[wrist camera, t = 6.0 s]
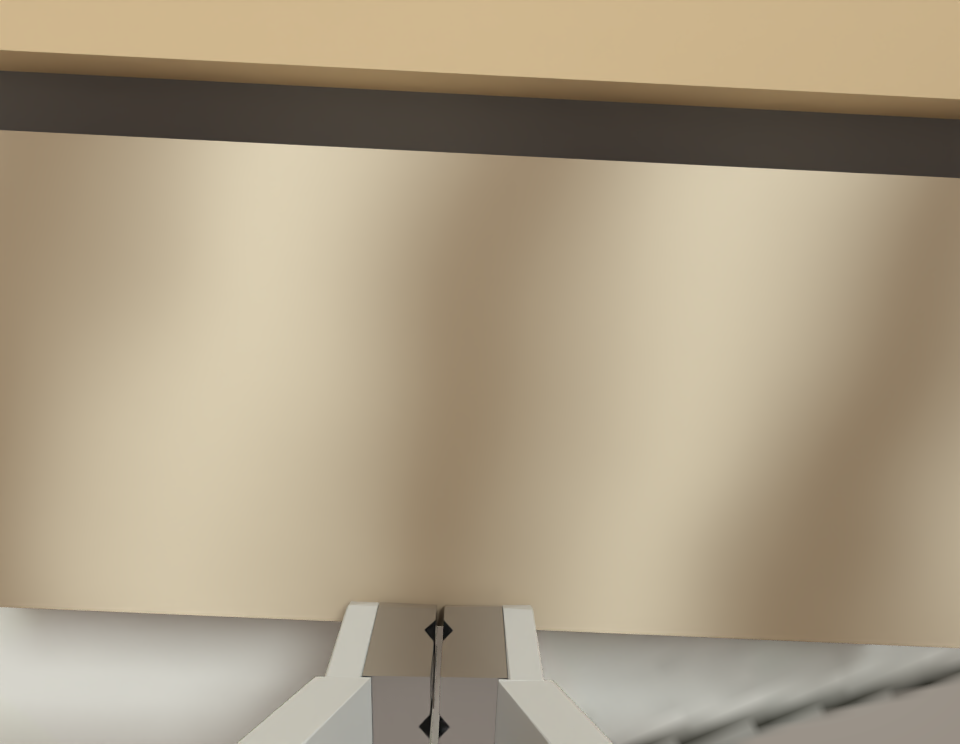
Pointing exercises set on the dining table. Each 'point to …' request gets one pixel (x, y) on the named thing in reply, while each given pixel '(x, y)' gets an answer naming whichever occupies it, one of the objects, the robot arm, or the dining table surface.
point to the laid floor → (477, 130)
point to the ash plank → (479, 388)
